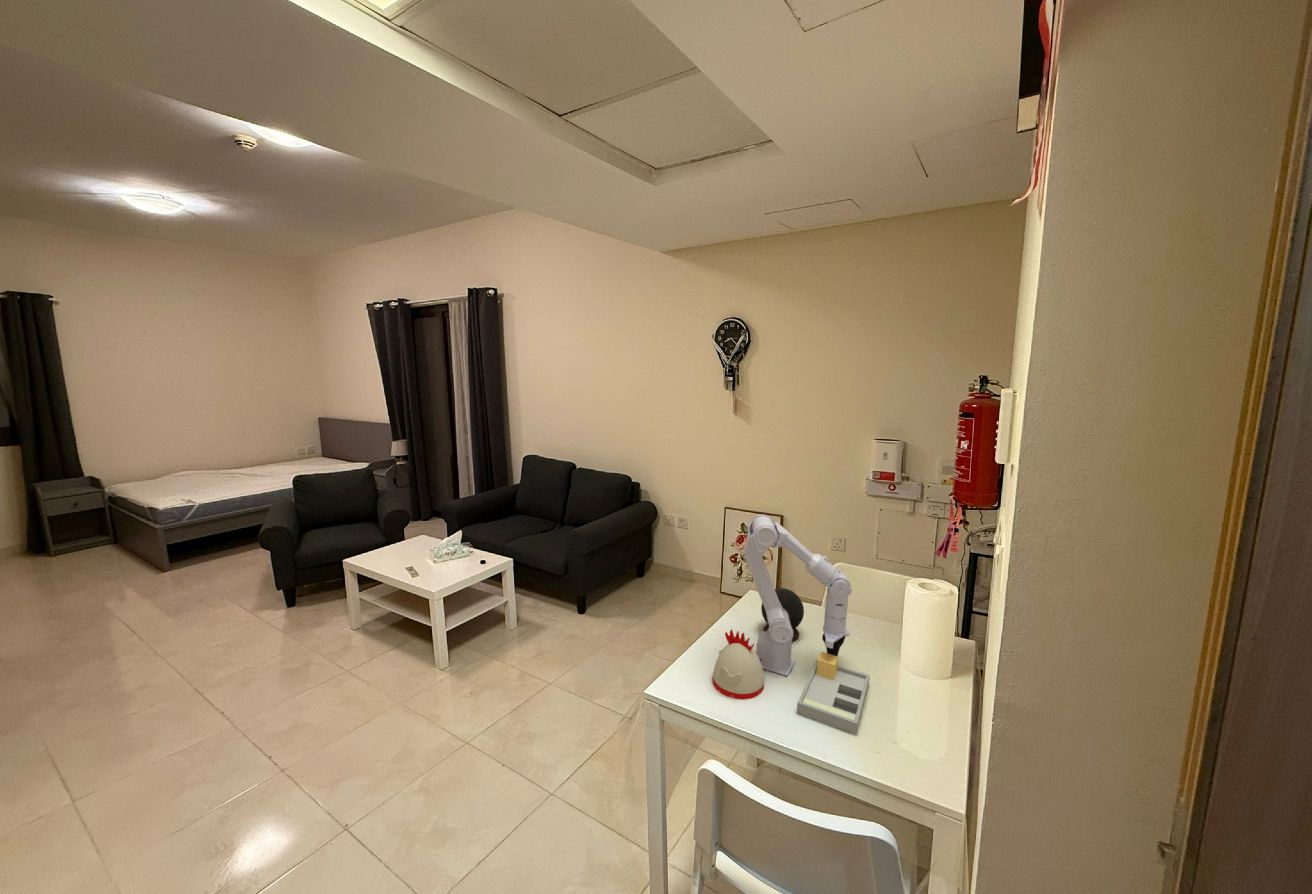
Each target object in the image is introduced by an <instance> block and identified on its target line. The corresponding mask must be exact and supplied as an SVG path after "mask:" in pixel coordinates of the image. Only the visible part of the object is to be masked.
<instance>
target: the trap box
mask: <svg viewBox="0 0 1312 894" xmlns="http://www.w3.org/2000/svg"><path fill="white" fill-rule="evenodd" d="M817 663H818V658H817V659H816V661H815V662H814V665H813V667H812V669H811V671H810V674H809V677H808V678H807V681H806V683H805V685H804V688H803V690H802V691H801V694H800V696H799V699H798V701H797V702H796V703H797V707H796V714H797V715H800V716H802V717H805V718H808V719H811V720H814V721H817V722H819V723H822V724H825V725H828V726H829V727H830V726H831V727H833V728H835V729H836V728H837V729H839V730H842V731H844V732H847V733H850V734H852V735H855V736H856V735H858V734H857V733H858V730H859V726H860V722H861V719H862V714H863V711H864V706H865V703H866V698H867V695H868V690H869V687H870V678H871V677H870V676H871V675H870V674H866V673H864V672H859V671H858V670H857V671H856V670H853V669H850V668H848V667H844V666H840V665H838V666H837V673H836V676H835V678H834V680H831V679H828V678H825V677H822V676H819V675H817Z"/></svg>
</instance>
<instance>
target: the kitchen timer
mask: <svg viewBox="0 0 1312 894" xmlns="http://www.w3.org/2000/svg"><path fill="white" fill-rule="evenodd" d="M739 631H740V630H737V631H736V634H735V635H734V632H733V629H732V628H731V629H730V631H729V633H728V632H727V631H726V632H725V633H724V636H725V638H726V640H727V643H728V644H726V645H725V647H723V648H722V649H721V650H719V651H718V654H719V655H718V656H717V659H716V661H715V664H714V667H713V672H712V683H713V686H714V687H715V689H716V690H717V691H718V692H719V693H721V694H722V695H724V696H726V697H728V698H731V699H735V700H750V699H754V698H756V697H758V696H760V694H762V692H763V691H764V689H765V673H764V669H763V668H762V665H761V662H760V660H759V657H758V655H757V653H756V652H757V651H756V650H755V649H754V646H755V643H752V644H751V645H750V644H749V642H750V637H748V638H747V639H746V638H745V632H744V631H743V632H742V633H741V636H740V632H739ZM745 639H746V640H745Z"/></svg>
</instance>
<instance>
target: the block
mask: <svg viewBox="0 0 1312 894" xmlns="http://www.w3.org/2000/svg"><path fill="white" fill-rule="evenodd" d="M817 659H818V663H817V675H819V676H822V677H825V678H828V679H831V680H834V678H835V676H836V673H837V666H839V665H838V664H839V662H838V661H839V655H838V656H834V655H831V654H828V653H827V652H823V651H821V652H820V654H819V656H818V658H817Z"/></svg>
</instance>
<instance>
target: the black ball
mask: <svg viewBox="0 0 1312 894" xmlns="http://www.w3.org/2000/svg"><path fill="white" fill-rule="evenodd" d="M774 589H775V591H776V594H777V597H778V599H779V601H780V603H781V606H782V607H783V609H784V610H786V611H787V613H788V615H789V620H790V624H791V627H792V629H793V638H792V644H793V643H795V641H796V642H798V640H799V639H798V638H800V632H799V630H798V627H799V625H800V624H801V623H802V621H803V619H804V614H805V608H804V604H803V602H802V600H801V598H800V597H799V595H797V593H795V592H794V591H793V590H790V589H789V588H786V587H785V588H784V587H779V588H774ZM761 615H762V617H763V619H764V621H765V622H766V624H765V625H764V626H763V629H762V631H768V629H769V623H768V620H767V614H766V611H765V608H764V605H763V603H762V602H761Z"/></svg>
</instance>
